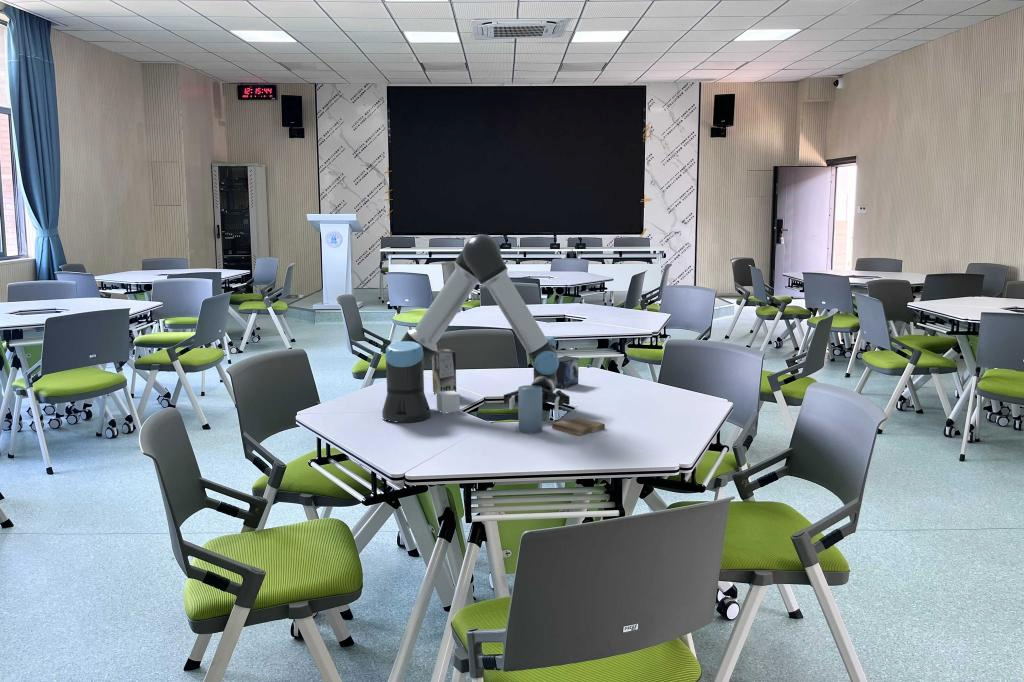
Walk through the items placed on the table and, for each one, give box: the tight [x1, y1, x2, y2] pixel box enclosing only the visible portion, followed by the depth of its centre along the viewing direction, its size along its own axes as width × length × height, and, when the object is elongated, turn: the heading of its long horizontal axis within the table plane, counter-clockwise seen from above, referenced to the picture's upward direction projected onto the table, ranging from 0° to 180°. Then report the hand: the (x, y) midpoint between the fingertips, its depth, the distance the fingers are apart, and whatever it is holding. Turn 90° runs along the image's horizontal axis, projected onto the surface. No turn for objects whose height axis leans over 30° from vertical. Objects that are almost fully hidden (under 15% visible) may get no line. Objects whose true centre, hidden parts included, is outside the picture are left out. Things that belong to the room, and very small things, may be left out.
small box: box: [556, 355, 580, 390], centre depth 302 cm, size 11×6×10 cm, turn 143°
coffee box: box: [431, 348, 457, 395], centre depth 288 cm, size 9×6×16 cm
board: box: [551, 417, 606, 436], centre depth 242 cm, size 11×11×2 cm
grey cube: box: [436, 391, 461, 414], centre depth 266 cm, size 6×6×6 cm
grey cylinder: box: [517, 384, 543, 435], centre depth 239 cm, size 7×7×13 cm
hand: (533, 405), depth 240 cm, fingers open, 13 cm apart
